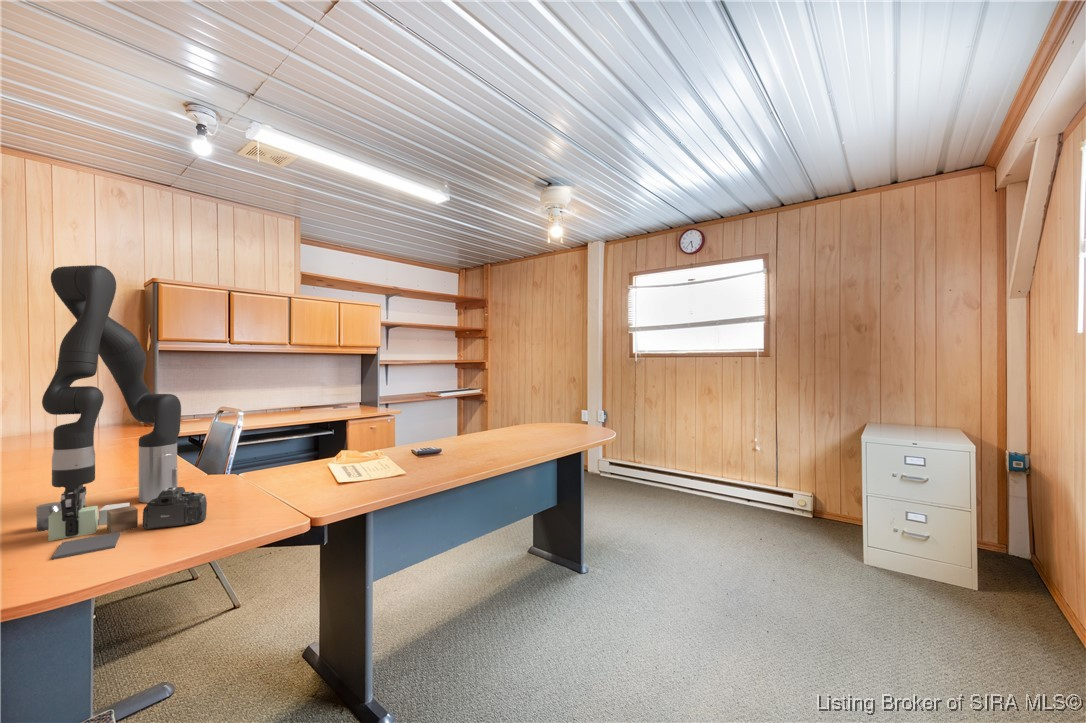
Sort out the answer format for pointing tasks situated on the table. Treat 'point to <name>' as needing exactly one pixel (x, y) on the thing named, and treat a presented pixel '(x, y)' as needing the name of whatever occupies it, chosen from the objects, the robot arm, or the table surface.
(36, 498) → the table surface
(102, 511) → the grey box
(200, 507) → the camera
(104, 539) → the mat
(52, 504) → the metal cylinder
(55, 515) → the sage block
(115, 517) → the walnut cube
